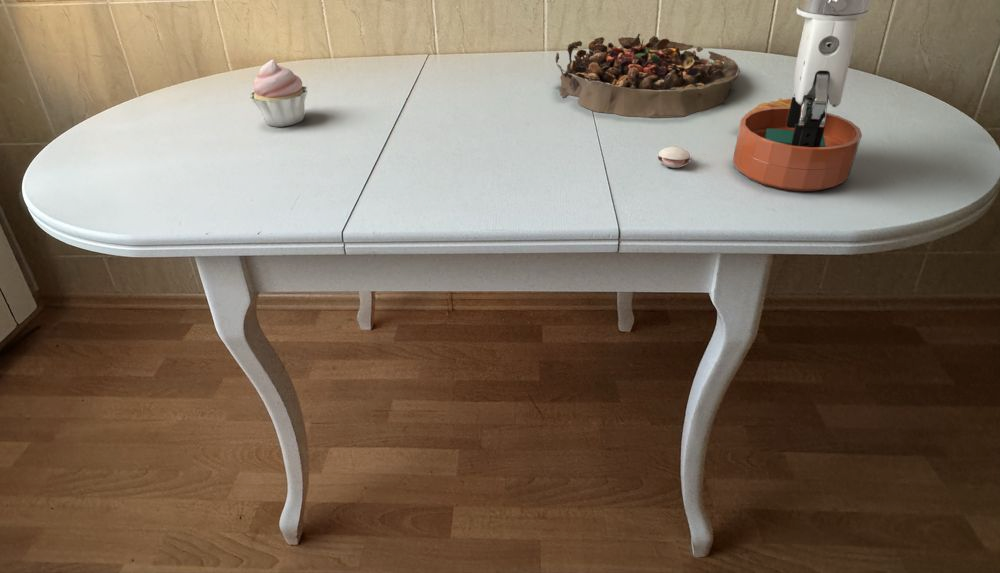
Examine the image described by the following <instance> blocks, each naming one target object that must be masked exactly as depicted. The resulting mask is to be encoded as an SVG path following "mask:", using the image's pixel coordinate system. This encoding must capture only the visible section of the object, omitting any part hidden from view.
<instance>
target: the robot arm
mask: <svg viewBox="0 0 1000 573" xmlns="http://www.w3.org/2000/svg"><path fill="white" fill-rule="evenodd" d="M871 3H872V0H798V2H797V6H796V11H795V12H796V14H797V15H798V16H800V17H803V18H805V19H804V23H803V28H802V33H801V37H800V42H799V45H798V52H797V56H796V62H795V69H794V75H793V91H794V94H793V96H792V97H791V99H792V101H791V106H790V110H789V115H788V119H787V126H788V127H794V128H795V129H794V134H793V138H792V142H791V145H793V146H803V147H820V143H821V140H822V136H823V132H824V128H825V119H826V113H828V111H827V110H828V104H829V105H831V106H832V108H837V107H838V106H839V105H841V102H842V98H843V93H844V89H845V85H846V80H847V76H848V71H849V67H850V62H851V57H852V53H853V49H854V44H855V39H856V32H857V25H858V20H859V19H863V18H866V17H867V16H868V13H869V10H870V7H871Z"/></svg>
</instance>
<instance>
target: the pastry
mask: <svg viewBox="0 0 1000 573" xmlns="http://www.w3.org/2000/svg"><path fill="white" fill-rule="evenodd" d="M791 101H792V98H778V99H777V100H771V101H769V102H762V103H759V104H758V105H757V106H755V107H754V108H753V109H751V110H749V111H748V112H747V113H750V112H753V111H755V110H759V109H766V108H775V107H790V106H791Z"/></svg>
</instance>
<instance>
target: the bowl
mask: <svg viewBox="0 0 1000 573" xmlns="http://www.w3.org/2000/svg"><path fill="white" fill-rule="evenodd" d="M789 110H790V107H775V108H766V109H759V110H755V111H753V112H750V111H749V112H750V113H748V112H747V113H746V114H744V116H743V117H741V119H740V122H739V128H738V131H737V132H738V133H737V136H736V141H735V147H734V152H733V165H734V166H735V168H736V169H737V170H738V171H739V172H740V173H741V174H743V175H744V176H745V177H747V178H748V179H750V180H752V181H754V182H756V183H758V184H761V185H764V186H767V187H770V188H775V189H779V190H786V191H793V192H815V191H816V192H817V191H821V190H822V191H823V190H826V189H830V188H833V187H836V186H838V185H841V184H842V183H845V182H846V181H847V179H848V177H849V176H850V174H851V171H852V169H853V168H852V167H853V165H854V161H855V159H856V155H857V152H858V149H859V146H860V143H861V140H862V136H863V134H862V131H861V129H860V127H859V126H857V125H856V124H855V123H854V122H852V121H850V120H848V119H846V118H844V117H842V116H840V115H836V114H833V113H830V112H826V119H825V128H824V132H823V136H824V140H825V145H826V147H803V146H793V145H788V144H783V143H778V142H774V141H771V140H768V139H766V138H765V134H766V130H767V128H769V129H781V130H793V131H794V129H795V128H794V127H788V126H787V119H788V115H789Z"/></svg>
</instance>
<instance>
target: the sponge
mask: <svg viewBox="0 0 1000 573" xmlns="http://www.w3.org/2000/svg"><path fill="white" fill-rule="evenodd" d="M793 134H794V131H793V130H781V129H769V128H767V130H766V134H765V138H766V139H768V140H771V141H774V142H778V143H783V144H788V145H791V142H792V138H793ZM820 147H826V145H825V140H824V136H822V140H821V143H820Z"/></svg>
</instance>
